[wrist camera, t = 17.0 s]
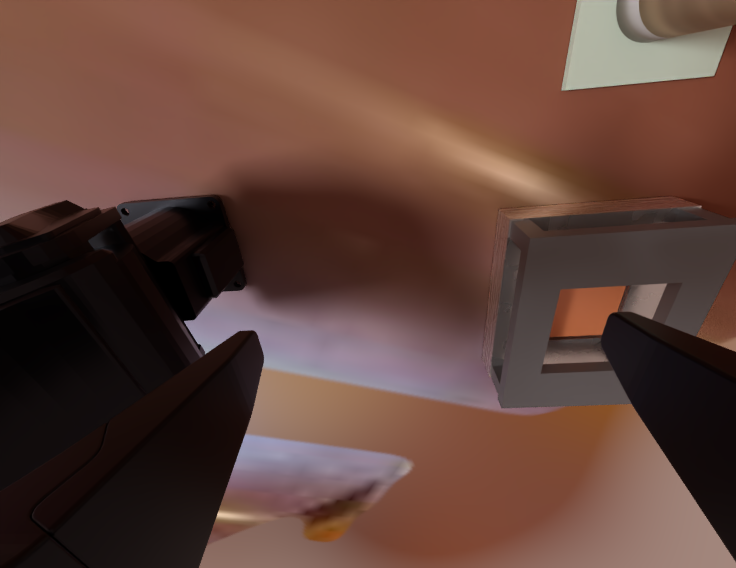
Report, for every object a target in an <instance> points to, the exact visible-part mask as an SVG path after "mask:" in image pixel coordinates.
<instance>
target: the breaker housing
mask: <svg viewBox="0 0 736 568" xmlns="http://www.w3.org/2000/svg"><path fill="white" fill-rule="evenodd" d="M701 207H702V206H701V205H698V204H695V203H692V202H689V201H686V200H683V199H680V198H677V197H674V196H666V197H652V198H639V199H625V200H612V201H598V202H585V203H571V204H558V205H544V206H531V207H517V208H504V209H498V218H497V227H496V236H495V245H494V254H493V262H492V271H491V280H490V289H489V298H488V307H487V316H486V325H485V333H484V342H483V351H482V360H483V362H484V365H485V368H486V370H487V373H488V375H489V377H491V370H492V366H495V365H503V362H504V356H505V349H506V343H507V336H508V330H509V324H510V317H511V311H512V305H513V298H514V292H515V285H516V279H517V273H518V266H519V260H520V254H521V250H520V249H519V248H518V247H517V246H516V245H515V244H514V242H513V241H512V240H511V239H510V238H509V236H510V229H511V222H512V221H520V220H531V221H532V222H533V223H535V224H536V225H537V226H538V227H540V228H541V229H542V230H543V231H551V230H566V229H580V228H595V227H609V226H624V225H638V224H653V223H667V222H675V219H676V217H677V214H678V211H679V209H688V208H701ZM666 285H667V283H666V284H648V285H631V286H626V288H625V291H624V294H623V296H622V299H621V302H620V305H619V308H618V311H617V312H626V311H629V312H634V313H636V314H639V315H641V316H644V317H646V318H649V319H652V318H653V316H654V314H655V311H656V309H657V306H658V304H659V302H660V299H661V297H662V294H663V292H664V290H665V287H666ZM601 336H602V335H585V336H563V337H549V341H548V345H547V349H546V353H545V358H544V362H543V364H559V363H582V362H606V361H608V359H607V357H606V355H605V353H604V351H603V349H602V346H601Z"/></svg>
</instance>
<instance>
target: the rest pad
mask: <svg viewBox="0 0 736 568" xmlns="http://www.w3.org/2000/svg"><path fill="white" fill-rule="evenodd" d="M616 4H617V0H577V5H576V10H575V16H574V22H573V27H572V33H571V38H570V44H569V50H568V55H567V61H566V67H565V72H564V78H563V84H562V89H561V91H562V90H574V89H585V88H595V87H605V86H616V85H626V84H636V83H647V82H657V81H667V80H678V79H688V78H698V77H709V76H714V75H715V72H716V69H717V67H718V64H719V61H720V58H721V56H722V53H723V50H724V47H725V45H726V42H727V39H728V37H729V34H730V31H731V28H732V26H733V25H732V26H727V27H722V28H717V29H712V30H707V31H702V32H697V33H692V34H687V35H682V36H677V37H673V38H668V39H663V40H658V41H653V42H647V43H639V42H635V41H632V40H630V39H628V38H627V37H626V36H625V35H624V34H623V33H622V32H621V30H620V28H619V25H618V23H617V17H616Z"/></svg>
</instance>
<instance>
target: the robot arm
mask: <svg viewBox="0 0 736 568" xmlns="http://www.w3.org/2000/svg"><path fill="white" fill-rule="evenodd" d="M210 201H213V202H214V203H215V204H216V207H213V206H212V205H211V203H210ZM125 208H126V209H128V210H129V213H130V214H129V213H128V212H127V211H126V209H125ZM120 219H121V220H120ZM243 265H244V263H243V259H242V256H241V253H240V250H239V246H238V243H237V240H236V236H235V233H234V230H233V229H232V228H230V225H229V222H228V219H227V216H226V212H225V209H224V206H223V203H222V201H221V199H220V198H219V197H217V196H216V195H205V196H193V197H181V198H169V199H156V200H144V201H132V202H124V203H122V204H119V205H118V206H117V209H116V207H111V208H107V209H103V210H100V208H99V207H97V208H92V209H87V208H86V209H84V208H82V207H80V206H78V205H75V204H73V203H71V202H69V201H67V200H66V201H62V202H58V203H54V204H51V205H48V206H45V207H42V208H39V209H36V210H33V211H30V212H27V213H24V214H21V215H18V216H15V217H12V218H10V219H8V220H5V221H3V222H1V223H0V568H199V565H200V563H201V560H202V557H203V554H204V551H205V548H206V545H207V543H208V540H209V537H210V534H211V531H212V528H213V525H214V522H215V519H216V517H217V514H218V511H219V508H220V505H221V502H222V499H223V496H224V493H225V491H226V488H227V485H228V482H229V479H230V476H231V473H232V470H233V468H234V465H235V462H236V459H237V456H238V453H239V450H240V447H241V444H242V442H243V439H244V436H245V433H246V430H247V427H248V424H249V421H250V418H251V415H252V411H253V407H254V403H255V398H256V394H257V389H258V385H259V380H260V376H261V372H262V367H263V363H264V355H263V351H262V348H261V345H260V342H259V339H258V335H257V333H256V332H255V331H253V330H251V331H239V332H237V333H236V334H234V335H233V336H231V337H230V338H228V339H227V340H226V341H224V342H223V343H221V344H220V345H218V346H217V347H215V348H214V349H212V350H211V351H209V352H208V353H207V354H205V351H204V350H203V348H202V346H201V345H200V344H197V342H196V340H195V339H194V337H193V336H192V334H191V332H190V331H189V329H188V328H187V326H186V324H185V323H184V321H188V320H195V319H196V317H197V316H198V315H199V314H200V313H201V311H202V310H203V309H204V308H205V307H206V305H207V304H208V303H209V302H210V301H211V299H212V298H217V297H218V296H219V295H220V294H221V292H222V291H239V290H242V289H244V287H245V286H246V284H247V281H246V277H245V274H244V271H243V268H242V266H243ZM236 281H239V282H240V283H241V285H240V284H237V282H236ZM601 346H602V349H603V351H604V353H605V355H606V357H607V359H608V361H609V362H610V364H611V366H612V368H613V370H614V372H615V374H616V376H617V378H618V380H619V382H620V384H621V385H622V387H623V389H624V391H625V393H626V395H627V397H628V398H629V400H630V402H631V404H632V405H633V407H634V408H635V410H636V412H637V413H638V415H639V416H640V418H641V419H642V421H643V422H644V423H645V425H646V427H647V428H648V430H649V431H650V433H651V434H652V436H653V437H654V439H655V440H656V442H657V443H658V445H659V446H660V448H661V449H662V451H663V452H664V454H665V455H666V457H667V458H668V460H669V462H670V463H671V465H672V466H673V468H674V469H675V471H676V472H677V473H678V475H679V477H680V478H681V480H682V481H683V483H684V484H685V486H686V487H687V489H688V490H689V491H690V493H691V495H692V496H693V498H694V499H695V500H696V502H697V504H698V505H699V507H700V508H701V510H702V511H703V513H704V514H705V516H706V517H707V519H708V521H709V522H710V524H711V525H712V527H713V528H714V530H715V531H716V533H717V534H718V536H719V537H720V539H721V540H722V542H723V543H724V545H725V546H726V548H727V549H728V550H729V552H730V554H731V555H732V557H733V558H734V560H735V561H736V352H735V351H732V350H729V349H727V348H724V347H722V346H719V345H716V344H714V343H711V342H709V341H706V340H704V339H701V338H698V337H696V336H693V335H691V334H688V333H685V332H683V331H680V330H678V329H675V328H672V327H670V326H667V325H665V324H662V323H659V322H657V321H654V320H652V319H649V318H646V317H644V316H641V315H639V314H636V313H634V312H629V311H626V312H613V313H611V314H610V315H609V316H608V318H607V321H606V324H605V327H604V330H603V333H602V336H601Z"/></svg>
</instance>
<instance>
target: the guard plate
mask: <svg viewBox="0 0 736 568" xmlns="http://www.w3.org/2000/svg"><path fill="white" fill-rule="evenodd" d="M509 238H510V239H511V240H512V241H513V242H514V244H515V245H516V246H517V247H518V248H519V249H520V250H521V254H520V260H519V266H518V273H517V279H516V285H515V292H514V298H513V305H512V311H511V317H510V324H509V330H508V336H507V343H506V349H505V356H504V362H503V365H495V366H492V370H491V378H492V380H493V383H494V385H495V388H496V390H497V393H498V400H499V403H500V406H501V408H524V407H554V406H584V405H612V404H631V402H630V400H629V398H628V397H627V395H626V393H625V391H624V389H623V387H622V385H621V384H620V382H619V380H618V378H617V376H616V374H615V372H614V370H613V368H612V366H611V364H610V362H609V361H606V362H582V363H559V364H543V362H544V358H545V353H546V349H547V345H548V341H549V336H550V332H551V328H552V324H553V320H554V315H555V311H556V307H557V303H558V299H559V294H560V290H561V289H578V288H596V287H613V286H631V285H648V284H666V283H667V285H666V287H665V290H664V292H663V294H662V297H661V299H660V302H659V304H658V306H657V309H656V311H655V314H654V316H653V318H652V320H654V321H657V322H659V323H662V324H665V325H667V326H670V327H672V328H675V329H678V330H680V331H683V332H685V333H688V334H691V335H693V336H696V335H697V333H698V331H699V329H700V327H701V325H702V323H703V322H704V320H705V318H706V316H707V314H708V312H709V310H710V308H711V306H712V304H713V302H714V300H715V298H716V296H717V294H718V292H719V290H720V289H721V287H722V285H723V283H724V281H725V279H726V277H727V275H728V273H729V271H730V269H731V267H732V265H733V263H734V261H735V259H736V218H728V217H725V216H722V215H719V214H716V213H713V212H710V211H707V210H704V209H701V208H688V209H679V211H678V214H677V217H676V219H675V222H667V223H653V224H638V225H624V226H609V227H595V228H580V229H566V230H551V231H543V230H542V229H541V228H540V227H538V226H537V225H536V224H535V223H533V222H532V221H531V220H520V221H512V222H511V229H510V236H509Z"/></svg>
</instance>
